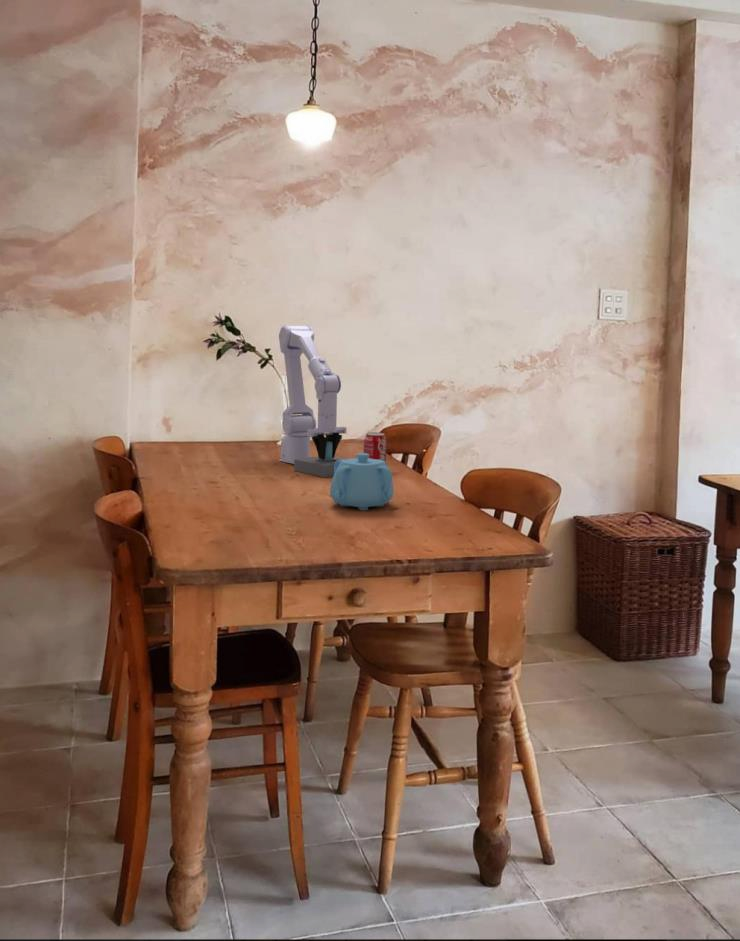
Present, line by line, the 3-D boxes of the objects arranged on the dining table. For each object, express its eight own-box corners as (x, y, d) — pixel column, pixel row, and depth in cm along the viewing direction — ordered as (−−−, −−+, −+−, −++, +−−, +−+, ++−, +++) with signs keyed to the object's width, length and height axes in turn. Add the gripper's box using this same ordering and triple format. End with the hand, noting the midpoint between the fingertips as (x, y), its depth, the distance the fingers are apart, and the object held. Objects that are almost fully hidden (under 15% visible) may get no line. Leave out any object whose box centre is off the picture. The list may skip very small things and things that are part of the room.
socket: (294, 470, 286) (294, 459, 286) (328, 466, 296) (328, 455, 295) (324, 477, 276) (324, 465, 276) (358, 472, 286) (358, 461, 285)
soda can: (386, 470, 291) (387, 432, 289) (384, 474, 284) (385, 435, 282) (364, 469, 292) (365, 431, 290) (361, 473, 285) (362, 434, 283)
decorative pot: (332, 498, 248) (333, 448, 245) (392, 499, 247) (393, 449, 245) (328, 511, 232) (329, 458, 229) (392, 513, 231) (393, 459, 229)
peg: (318, 467, 286) (319, 441, 284) (326, 466, 288) (327, 440, 287) (326, 469, 284) (326, 443, 282) (334, 467, 286) (334, 442, 284)
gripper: (317, 417, 275) (317, 462, 278) (353, 414, 285) (352, 457, 288) (302, 414, 280) (302, 459, 283) (338, 411, 290) (337, 454, 293)
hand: (326, 458), depth 285 cm, fingers closed on peg, 3 cm apart
